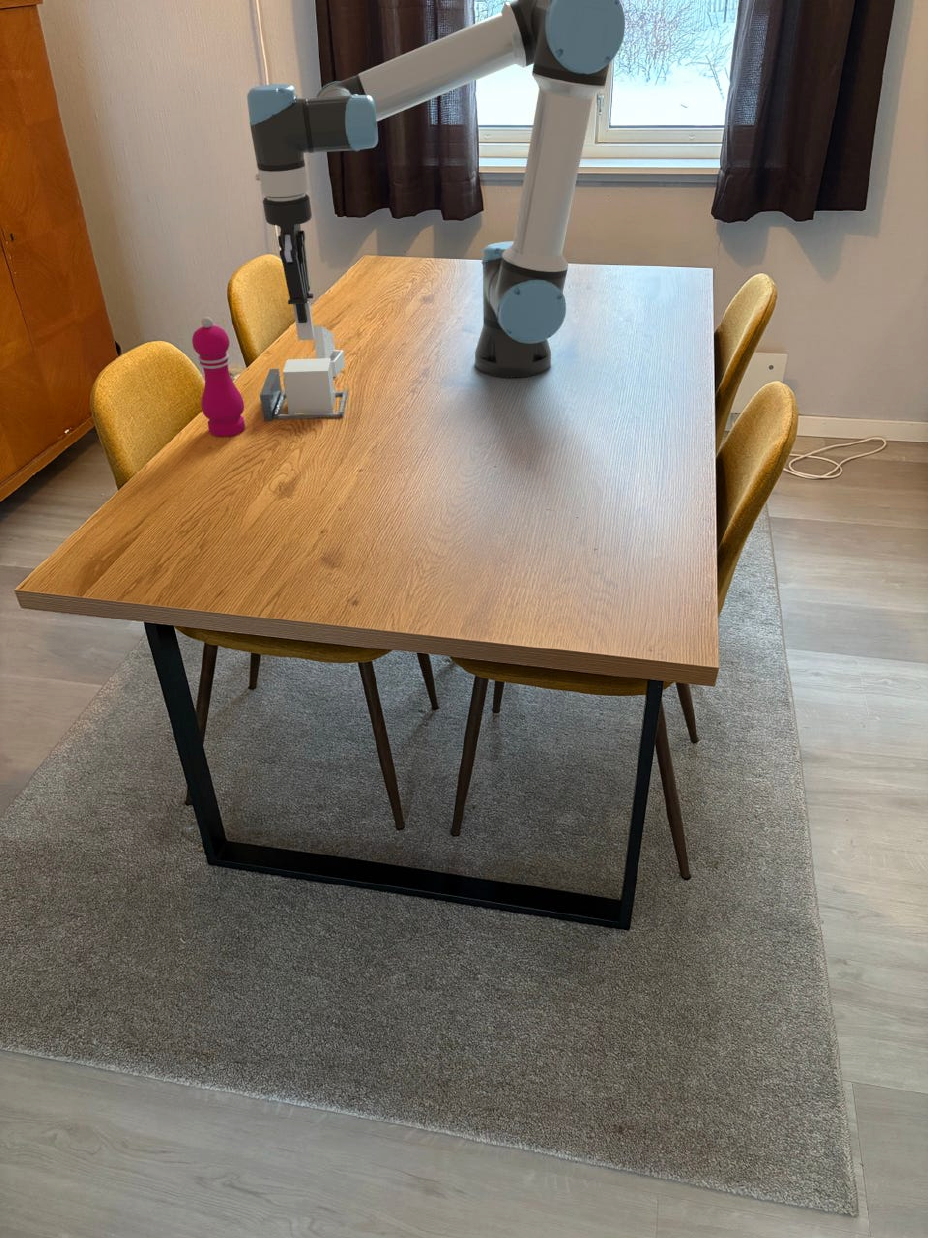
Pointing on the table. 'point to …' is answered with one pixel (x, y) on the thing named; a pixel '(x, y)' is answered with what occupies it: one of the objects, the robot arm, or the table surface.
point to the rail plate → (275, 399)
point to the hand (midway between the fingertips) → (306, 338)
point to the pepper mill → (218, 381)
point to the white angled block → (328, 349)
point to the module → (309, 385)
